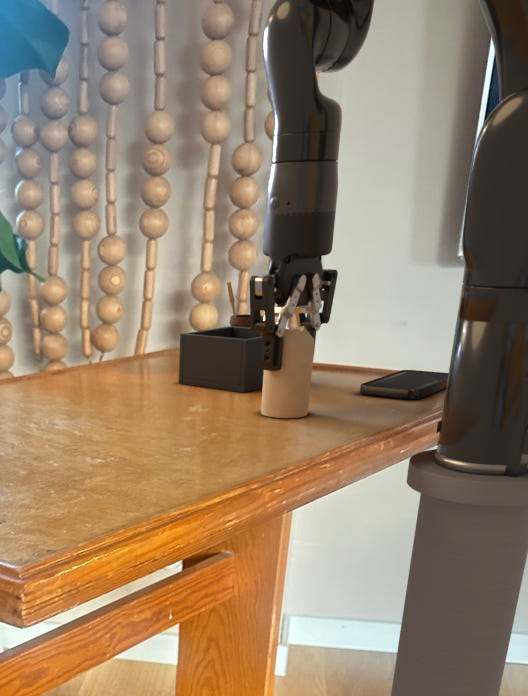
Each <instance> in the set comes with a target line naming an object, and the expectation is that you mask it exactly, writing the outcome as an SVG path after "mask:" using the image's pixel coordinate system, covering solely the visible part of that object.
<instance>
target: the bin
mask: <svg viewBox="0 0 528 696" xmlns="http://www.w3.org/2000/svg"><path fill="white" fill-rule="evenodd" d="M262 349H263V336H262V335H261V334H260V333H259V332H257V331H252V330H251V327H239V326H231V325H229V326H222V327H216V328H211V329H209V328H208V329H203V330H197V331H190V332H184V333H180V334H179V355H178V357H179V359H178V360H179V361H178V384H180V385H185V386H186V385H187V386H193V387H194V386H195V387H201V388H209V389H214V390H222V391H223V390H224V391H228V392H229V391H230V392H237V393H243V394H245V393H248V392H253V391H258V390H261V389H262V390H263V375H264V369H263V368H262Z"/></svg>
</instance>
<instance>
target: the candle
mask: <svg viewBox="0 0 528 696" xmlns="http://www.w3.org/2000/svg"><path fill="white" fill-rule="evenodd" d="M282 337H284V341H283V354H282V367H281V369H280V370H278V371H269V370H264V375H263V388H262V390H261V391H262V392H261V405H260V412H261V415H263V416H266V417H268V418H269V417H270V418H277V419H295V418H302V417H306V416H307V415H308V413H309V407H310V395H311V386H312V375H313V362H314V357H313V354H314V355H315V350H314V349H315V348H314V343H315V344H316V339H315V340H314V339H313V337H312V336H311V335H310V333H309V332H308V331H307V330H306V328H305V326H302V327H298V326H297V327H295V328H291V329H290V328H285V331H284V334H283V336H282Z"/></svg>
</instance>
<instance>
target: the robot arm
mask: <svg viewBox="0 0 528 696" xmlns="http://www.w3.org/2000/svg"><path fill="white" fill-rule="evenodd" d="M477 1H478V3H479V6H480V9H481V11H482V15H483V17H484V19H485V23H486V26H487V28H488V30H489V34H490V37H491V41H492V45H493V49H494V54H495V61H496V68H497V79H498V80H497V81H498V96H499V97H498V98H499V99H498V100H499V103H498V104H497V105H496V106H495V108H494V109H493V110H492V111H491V112H490V113H489V115H488V116H487V118H486V119H485V121H484V122H483V124H482V126H481V128H480V131H479V133H478V135H477V138H476V142H475V145H474V149H473V153H472V158H471V164H470V169H469V171H470V172H469V177H468V185H467V193H466V202H465V211H464V221H463V228H462V237H461V253H462V257H463V275H462V281H461V283H462V285H461V288H460V289H461V290H460V297H459V302H458V310H457V317H456V323H455V328H454V330H455V331H454V336H453V341H452V348H451V354H450V355H451V356H450V360H449V361H450V362H449V368H448V373H449V374H448V380H447V387H446V388H445V393H444V394H445V395H444V401H443V408H442V413H441V420H439V421H437V425H436V426H437V427H436V434H438V439H437V443H436V444H437V446H436V448H435V449H436V453H435V460H434V461H435V463H436V464H438V465H439V466H441V467H443V468H446V469H449V470H453V471H457V472H463V473H469V474H477V475H494V476H509V477H519V476H521V475H524V474H526V473H528V0H477ZM374 5H375V0H275V1H274V3H273V4H272V6H271V8H270V9H269V12H268V14H267V17H266V20H265V23H264V28H263V34H262V56H263V58H262V59H263V65H264V71H265V72H264V73H265V76H266V83H267V84H266V85H267V88H268V90H267V91H268V97H269V103H270V107H271V112H272V118H273V130H272V144H271V156H270V157H271V158H270V159H271V160H270V163H271V164H270V170H269V176H268V181H267V186H266V197H265V198H266V199H265V202H266V203H265V214H264V215H265V216H264V227H263V242H262V253H263V255H264V256H266V257H269V258H270V262H269V268H268V269H267V272H266V273H265V274H263V275H251V276H250V278H249V314H250V316H251V330H252V331H257V332H259V333H260V334H261V335H262V336H263V349H262V368H263V369H264V370H269V371H278V370H280V369H281V367H282V354H283V341H284V337H282V336H283V334H284V331H285V329H287V328H286V327H287V324H288V321H289V319H291V318H293V316H295V320H296V326H297V327H302V326H305V328H306V330H307V331H308V332H309V333H310V335H311V336H312V337H313V339H314V340H315V341H316V340H317V339H316V338H317V332H318V331H319V330H320V328H321V326H322V325H323V324H328V323H329V322H330V319H331V314H332V309H333V304H334V303H333V302H334V298H335V293H336V285H337V281H338V275H339V274H338V273H339V272H338V270H337V269H332V268H324V267H323V261H322V257H323V256H328V255H330V254H331V253H332V250H333V245H334V244H333V243H334V235H335V233H334V232H335V223H336V213H337V202H338V192H339V161H338V160H339V152H340V145H341V133H342V125H343V124H342V123H343V111H342V107H341V105H340V103H338V101H336V100H335V99H333V98H331V97H329V96H326V95H325V94H323V93H322V92H321V90H320V86H319V82H318V75H317V73H321V74H333V73H337V72H341V71H342V70H344V69H345V68H347V67H348V66H349V65H350V64H351V63H352V62H353V61H354V59H355V58H356V57H357V55H358V54H359V53H360V51H361V49H362V48H363V45H364V43H365V42H366V39H367V37H368V34H369V31H370V27H371V22H372V18H373V12H374V8H375V7H374ZM322 302H323V303H322ZM320 310H321V311H320ZM261 311H263V312H262V313H264V316H263V321H262V320H261V319H260V315H261V314H260V313H261ZM276 317H278V318H277V320H276ZM276 321H277V322H276ZM315 345H316V342H315V343H314V351H315V348H316V346H315ZM314 356H315V353H314V354H313V358H314Z"/></svg>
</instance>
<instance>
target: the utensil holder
mask: <svg viewBox="0 0 528 696" xmlns="http://www.w3.org/2000/svg"><path fill="white" fill-rule="evenodd" d="M226 286H227V292H228V299H229V304H230V305H231V310H232V315H231V316H230V318H229V326H239V327H251V316H250V313H249V314H237V313H236V308H235V296H234V292H233V287H232V282H231V281H227V282H226ZM262 313H264V312H263V310H260V319H261V320H262V321H263V319H264V316H263V315H262Z"/></svg>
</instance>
